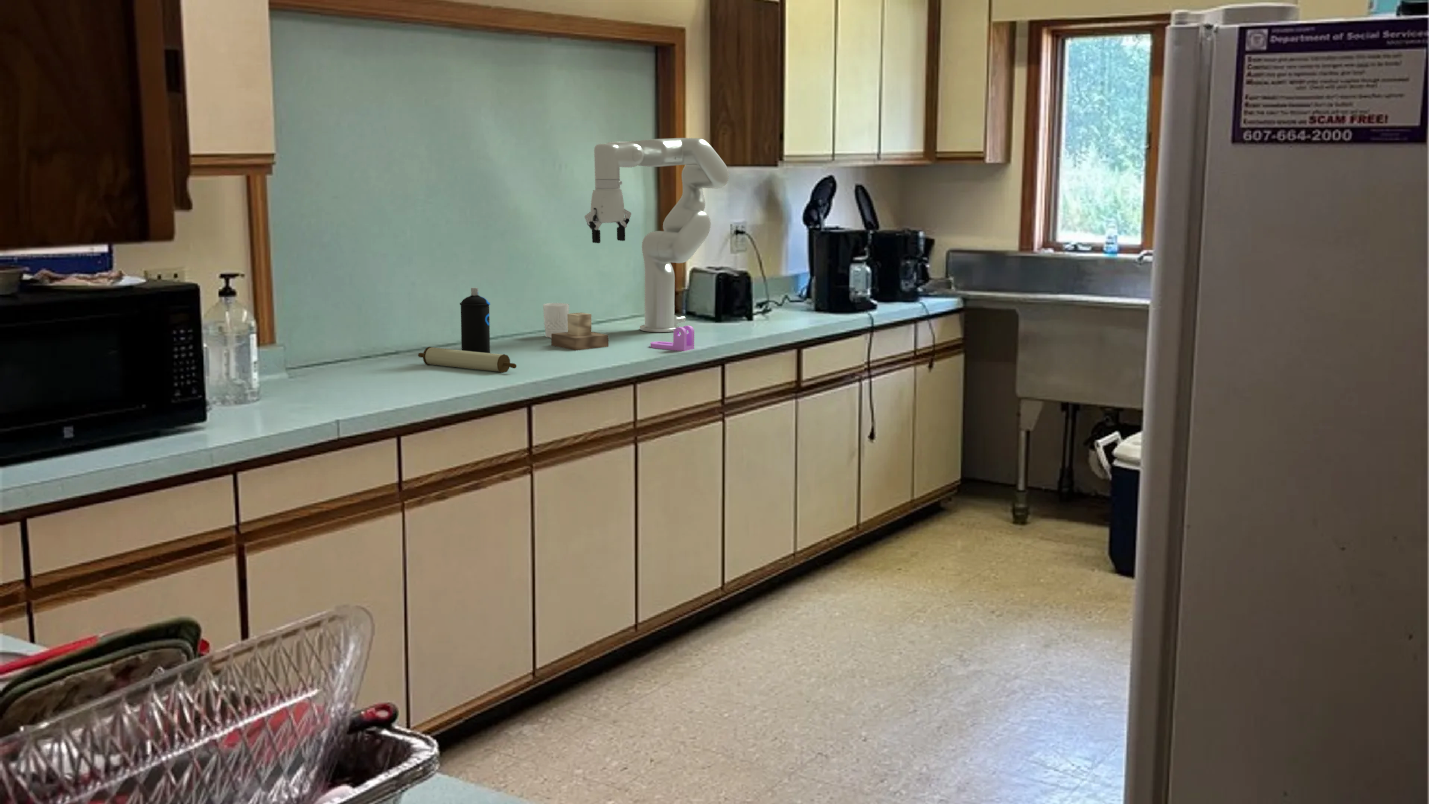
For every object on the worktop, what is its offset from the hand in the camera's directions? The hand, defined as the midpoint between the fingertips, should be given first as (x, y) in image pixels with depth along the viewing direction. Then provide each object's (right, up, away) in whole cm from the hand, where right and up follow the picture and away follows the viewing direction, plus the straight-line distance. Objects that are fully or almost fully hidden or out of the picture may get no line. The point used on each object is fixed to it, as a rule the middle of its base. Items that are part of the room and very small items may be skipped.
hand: (608, 241), depth 419 cm
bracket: (+19, -33, -15) cm, 41 cm away
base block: (-8, -33, -13) cm, 36 cm away
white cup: (-17, -29, +5) cm, 34 cm away
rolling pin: (-34, -40, -55) cm, 76 cm away
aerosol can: (-33, -38, -43) cm, 66 cm away
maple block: (-8, -29, -14) cm, 33 cm away
